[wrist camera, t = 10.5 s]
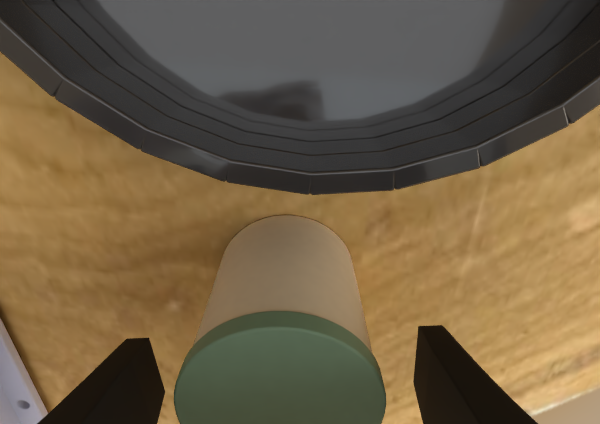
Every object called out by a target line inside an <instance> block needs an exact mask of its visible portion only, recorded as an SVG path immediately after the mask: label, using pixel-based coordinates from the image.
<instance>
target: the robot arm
mask: <svg viewBox="0 0 600 424" xmlns="http://www.w3.org/2000/svg"><path fill="white" fill-rule="evenodd" d="M414 386H415V391H416V395H417V400H418V404H419V408H420V412H421V416H422V420H423V424H538V423H537V422H535V420H533V419H532V418H531V417H530V416H529V415H528V414H527V413H526V412H525V411H524V410H523V409H522V408H521V407H520V406H519V405H518V404H516V403H515V402H514V401H513V400H512V399H511V398H510V397H509V396H508V395H507V394H506V393H505V392H504V391H503V390H502V389H501V388H500V387H499V386H498V385H497V384H496V383H495V382H494V381H493V380H492V379H491V378H490V376H489V375H488V374H487V373H486V372H485V371H484V370H483V369H482V368H481V367H480V366H479V365H478V364H477V363H476V362H475V361H474V360H473V358H472V357H471V356H470V355H469V354H468V353H467V352H466V351H465V350H464V349H463V347H462V346H461V345H460V344H459V343H458V342H457V341H456V340H455V339H454V337H453V336H452V335H451V334H450V333H449V332H448V331H447V330H446V329H445V328H444V327H443V326H442V325H438V326H419V327H418V338H417V349H416V360H415V371H414ZM164 394H165V390H164V386H163V383H162V380H161V376H160V373H159V370H158V366H157V363H156V360H155V356H154V353H153V350H152V346H151V343H150V340H149V338H134V339H126V340H125V341H124V342H123V343H122V344H121V345H120V346H119V347H117V348H116V349H115V350H114V351H113V352H112V353H111V354H110V355H109V356H108V357H107V358H106V359H105V360H104V361H103V362H102V363H101V364H100V365H99V366H98V367H97V368H96V369H95V370H94V371H93V372H92V373H91V374H90V375H89V376H88V377H87V378H86V379H85V380H84V381H83V382H81V383H80V384H79V385H78V386H77V387H76V388H75V389H74V390H73V391H72V392H71V393H70V394H69V395H68V396H67V397H66V398H65V399H64V400H63V401H62V402H61V403H59V404H58V405H57V406H56V407H55V408H54V409H53V410H52V411H51V412H50V413H48V412H47V410H46V408H45V406H44V404H43V402H42V400H41V398H40V396H39V394H38V392H37V390H36V388H35V386H34V384H33V382H32V380H31V378H30V376H29V374H28V372H27V370H26V368H25V366H24V364H23V362H22V360H21V358H20V356H19V354H18V352H17V350H16V348H15V346H14V344H13V342H12V340H11V338H10V336H9V334H8V332H7V330H6V328H5V326H4V324H3V322H2V320H1V318H0V424H157V422H158V418H159V414H160V410H161V406H162V402H163V398H164Z"/></svg>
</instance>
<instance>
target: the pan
mask: <svg viewBox="0 0 600 424" xmlns="http://www.w3.org/2000/svg"><path fill="white" fill-rule="evenodd" d="M0 52H1V53H3V54H4V55H5V56H6V57H7V58H8V59H9V60H11V61H12V62H13V63H14V64H15V65H16V66H17V67H19V68H20V69H21V70H22V71H23V72H24V73H25V74H27V75H28V76H29V77H30V78H31V79H32V80H33V81H35V82H36V83H37V84H38V85H39V86H40V87H41V88H43V89H44V90H45V91H46V92H47V93H48V94H49V95H51V96H53V97H54V96H55V99H56V100H58V101H59V102H61V103H63V104H64V105H66V106H68V107H69V108H71V109H72V110H74V111H76V112H77V113H79V114H81V115H82V116H84V117H86V118H87V119H89V120H91V121H92V122H94V123H96V124H97V125H99V126H100V127H102V128H104V129H105V130H107V131H109V132H110V133H112V134H114V135H115V136H117V137H119V138H120V139H122V140H124V141H125V142H127V143H129V144H130V145H132V146H133V147H135V148H137V149H141V151H142V152H145V153H147V154H150V155H153V156H156V157H158V158H161V159H164V160H166V161H169V162H172V163H174V164H177V165H180V166H183V167H185V168H188V169H191V170H193V171H196V172H199V173H201V174H204V175H207V176H210V177H212V178H215V179H218V180H220V181H224V182H225V181H227V182H228V183H235V184H241V185H248V186H254V187H261V188H268V189H274V190H281V191H287V192H294V193H300V194H309V193H310V194H312V195H319V194H337V193H355V192H373V191H391V190H394V188H395V189H402V188H406V187H409V186H413V185H417V184H421V183H425V182H428V181H432V180H436V179H440V178H444V177H447V176H451V175H455V174H459V173H463V172H466V171H470V170H474V169H478V168H480V166H486V165H488V164H490V163H492V162H494V161H496V160H498V159H501V158H503V157H505V156H507V155H509V154H511V153H513V152H515V151H517V150H519V149H522V148H524V147H526V146H528V145H530V144H532V143H534V142H536V141H538V140H540V139H542V138H545V137H547V136H549V135H551V134H553V133H555V132H557V131H559V130H561V129H563V128H566V127H568V126H569V124H572V123H574V122H576V121H577V120H579V119H580V118H581V117H583V116H584V115H586V114H587V113H588V112H590V111H591V110H593V109H594V108H595V107H597V106H598V105H600V0H0Z"/></svg>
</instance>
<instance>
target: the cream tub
mask: <svg viewBox="0 0 600 424" xmlns="http://www.w3.org/2000/svg"><path fill="white" fill-rule="evenodd" d="M174 405H175V410H176V415H177V417H178V420H179V422H180V424H381V423H382V420H383V417H384V414H385V408H386V393H385V388H384V384H383V380H382V376H381V371H380V368H379V365H378V363H377V361H376V359H375V357H374V356H373V354H372V349H371V345H370V340H369V336H368V331H367V326H366V322H365V317H364V313H363V308H362V304H361V299H360V295H359V290H358V285H357V281H356V276H355V272H354V267H353V263H352V259H351V256H350V253H349V251H348V249H347V247H346V245H345V244H344V242H343V241H342V240H341V239H340V237H339V236H338V235H336V234H335V233H334V232H333V231H332V230H331V229H329V228H328V227H326V226H325V225H323V224H321V223H319V222H317V221H314V220H311V219H309V218H304V217H300V216H292V215H280V216H272V217H268V218H264V219H261V220H259V221H256V222H254V223H252V224H250V225H248V226H247V227H245V228H244V229H242V230H241V231H240V232H239V233H238V234H236V235H235V236H234V238H233V239H232V240H231V241H230V243H229V244H228V246H227V248H226V250H225V252H224V255H223V257H222V260H221V263H220V266H219V269H218V272H217V275H216V278H215V281H214V284H213V287H212V290H211V293H210V296H209V299H208V302H207V305H206V308H205V311H204V314H203V317H202V320H201V323H200V326H199V329H198V332H197V335H196V338H195V341H194V344H193V347H192V348H191V349H190V351H189V352H188V354H187V356H186V357H185V359H184V362H183V364H182V367H181V370H180V373H179V375H178V378H177V381H176V385H175V390H174Z"/></svg>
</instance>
